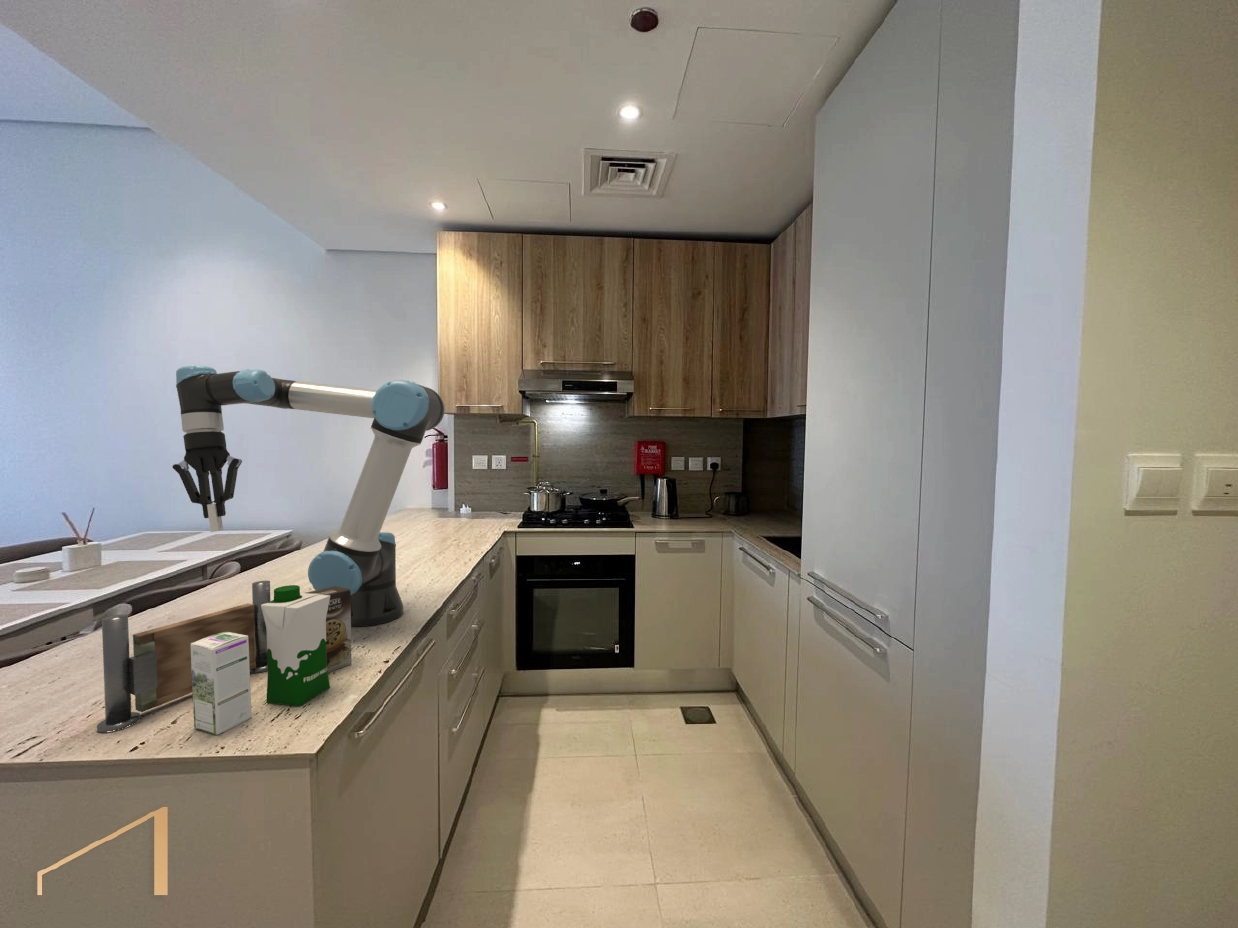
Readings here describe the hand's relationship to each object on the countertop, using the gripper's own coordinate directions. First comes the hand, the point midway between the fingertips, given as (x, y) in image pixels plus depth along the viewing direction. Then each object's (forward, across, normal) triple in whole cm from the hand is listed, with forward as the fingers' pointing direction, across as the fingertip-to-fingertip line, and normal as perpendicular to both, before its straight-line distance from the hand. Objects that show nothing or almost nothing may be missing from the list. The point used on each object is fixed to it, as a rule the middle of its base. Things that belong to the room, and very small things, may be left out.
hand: (216, 530), depth 115 cm
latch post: (+29, +4, +35) cm, 46 cm away
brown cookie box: (+31, -23, +24) cm, 46 cm away
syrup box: (+31, -12, +41) cm, 53 cm away
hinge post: (+29, -12, +19) cm, 37 cm away
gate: (+28, -4, +27) cm, 39 cm away
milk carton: (+32, -22, +35) cm, 52 cm away
